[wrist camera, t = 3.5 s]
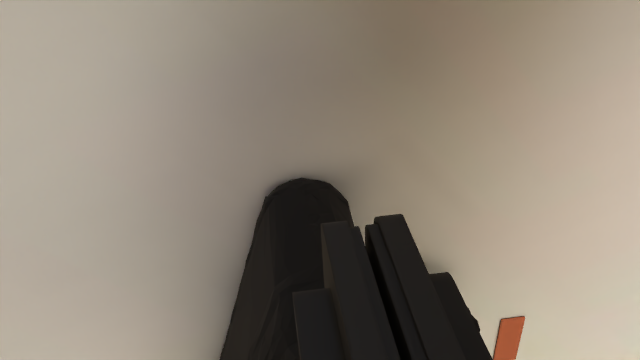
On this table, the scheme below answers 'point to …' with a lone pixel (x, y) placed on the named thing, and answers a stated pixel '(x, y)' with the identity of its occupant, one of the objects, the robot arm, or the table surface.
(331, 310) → the robot arm
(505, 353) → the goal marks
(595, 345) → the table surface
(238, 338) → the film camera
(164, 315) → the table surface
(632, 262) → the table surface
